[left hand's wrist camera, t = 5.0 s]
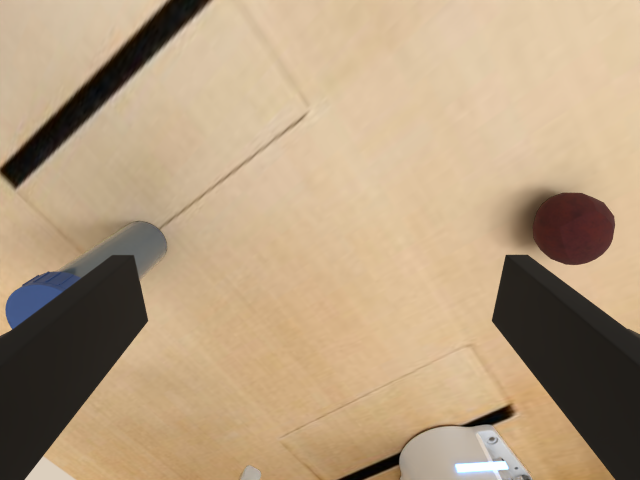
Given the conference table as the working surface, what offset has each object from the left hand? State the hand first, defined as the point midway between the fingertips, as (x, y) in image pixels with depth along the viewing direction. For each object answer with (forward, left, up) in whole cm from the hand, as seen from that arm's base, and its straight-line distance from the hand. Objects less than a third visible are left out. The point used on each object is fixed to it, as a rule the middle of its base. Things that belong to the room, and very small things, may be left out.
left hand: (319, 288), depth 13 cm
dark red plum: (+6, +27, -28) cm, 39 cm away
